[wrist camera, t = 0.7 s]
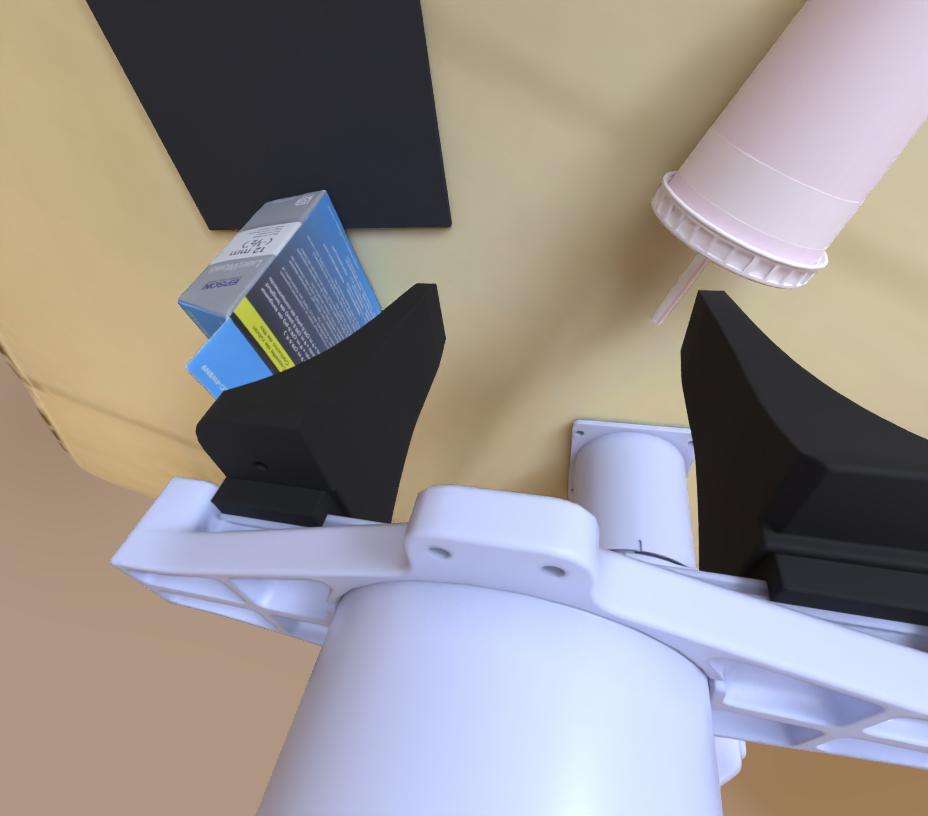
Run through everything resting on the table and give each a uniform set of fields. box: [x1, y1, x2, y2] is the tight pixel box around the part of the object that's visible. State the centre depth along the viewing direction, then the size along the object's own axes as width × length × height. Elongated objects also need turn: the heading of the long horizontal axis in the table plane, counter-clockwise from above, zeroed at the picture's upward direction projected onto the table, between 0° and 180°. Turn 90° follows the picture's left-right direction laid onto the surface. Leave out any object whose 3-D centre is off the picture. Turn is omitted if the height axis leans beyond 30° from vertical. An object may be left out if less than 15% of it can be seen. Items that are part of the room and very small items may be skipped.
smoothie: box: [651, 0, 928, 324], centre depth 16 cm, size 6×6×14 cm
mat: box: [86, 0, 452, 230], centre depth 20 cm, size 13×14×1 cm
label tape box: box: [178, 190, 382, 400], centre depth 22 cm, size 9×4×12 cm, turn 14°
